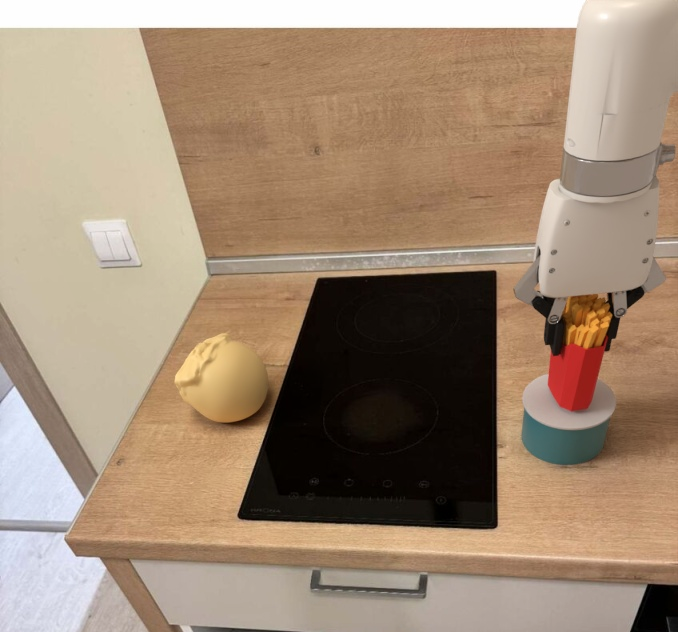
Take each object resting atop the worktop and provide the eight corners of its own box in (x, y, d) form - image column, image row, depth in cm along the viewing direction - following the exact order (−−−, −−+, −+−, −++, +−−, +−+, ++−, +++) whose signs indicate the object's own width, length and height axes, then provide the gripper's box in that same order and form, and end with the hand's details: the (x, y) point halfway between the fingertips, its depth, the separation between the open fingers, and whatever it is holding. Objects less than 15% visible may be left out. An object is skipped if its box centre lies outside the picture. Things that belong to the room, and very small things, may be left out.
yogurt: (593, 415, 79) (603, 367, 74) (614, 472, 72) (627, 424, 67) (512, 421, 80) (516, 375, 75) (525, 478, 73) (530, 431, 68)
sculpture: (217, 378, 96) (196, 318, 89) (286, 387, 92) (270, 325, 85) (180, 426, 89) (153, 365, 82) (252, 438, 85) (231, 376, 78)
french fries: (541, 375, 74) (551, 283, 65) (573, 369, 73) (589, 276, 65) (566, 420, 68) (582, 326, 59) (602, 414, 68) (623, 319, 59)
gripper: (696, 138, 54) (650, 318, 67) (500, 164, 56) (492, 334, 69) (729, 171, 49) (672, 359, 62) (512, 198, 51) (502, 375, 64)
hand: (578, 344), depth 66 cm, fingers closed on french fries, 4 cm apart
